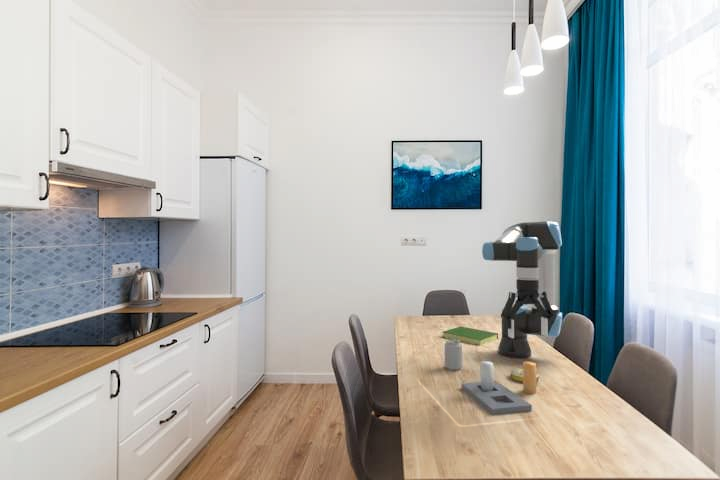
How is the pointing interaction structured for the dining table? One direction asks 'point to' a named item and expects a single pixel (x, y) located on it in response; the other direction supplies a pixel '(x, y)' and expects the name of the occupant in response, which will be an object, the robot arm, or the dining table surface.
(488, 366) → the white rounded peg
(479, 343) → the hardcover book
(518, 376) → the decorated donut
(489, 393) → the housing
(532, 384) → the tan tapered peg
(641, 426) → the dining table surface
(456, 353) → the can
